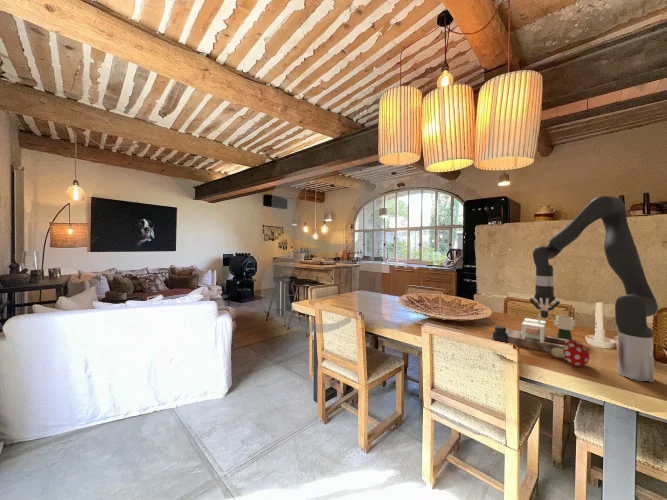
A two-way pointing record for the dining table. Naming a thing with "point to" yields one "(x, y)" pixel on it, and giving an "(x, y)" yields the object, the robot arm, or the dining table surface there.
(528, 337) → the sled
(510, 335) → the track
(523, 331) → the tunnel
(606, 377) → the dining table surface
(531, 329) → the block
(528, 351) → the dining table surface
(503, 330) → the supplement bottle
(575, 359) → the decorative mushroom
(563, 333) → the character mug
